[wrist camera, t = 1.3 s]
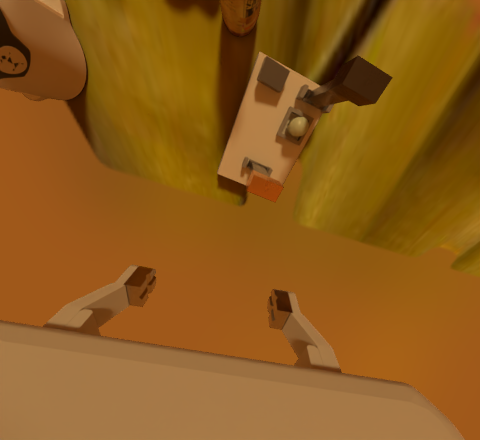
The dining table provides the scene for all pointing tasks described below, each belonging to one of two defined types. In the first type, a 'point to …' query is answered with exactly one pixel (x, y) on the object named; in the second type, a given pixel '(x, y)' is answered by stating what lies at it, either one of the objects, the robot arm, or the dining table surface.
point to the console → (269, 127)
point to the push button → (297, 126)
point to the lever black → (350, 85)
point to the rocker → (273, 74)
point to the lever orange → (262, 182)
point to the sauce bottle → (240, 15)
